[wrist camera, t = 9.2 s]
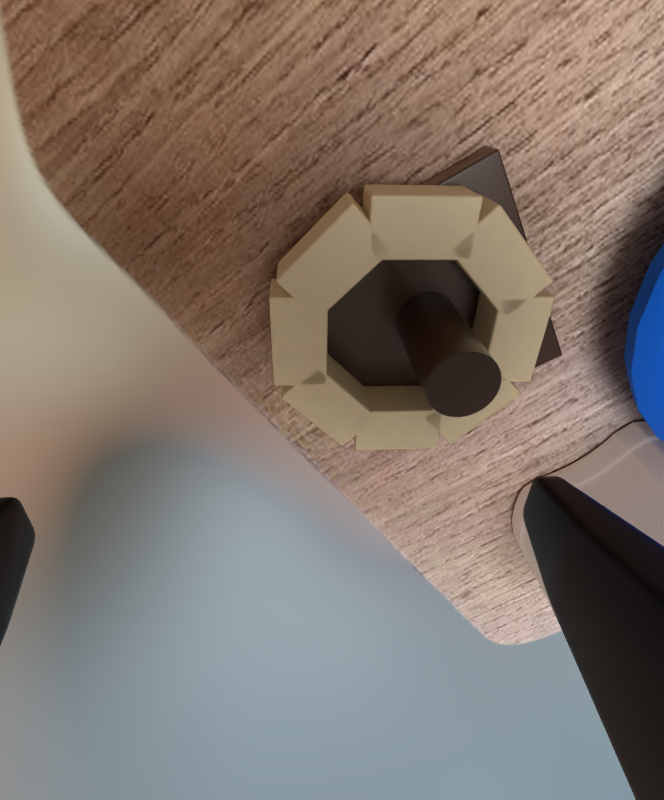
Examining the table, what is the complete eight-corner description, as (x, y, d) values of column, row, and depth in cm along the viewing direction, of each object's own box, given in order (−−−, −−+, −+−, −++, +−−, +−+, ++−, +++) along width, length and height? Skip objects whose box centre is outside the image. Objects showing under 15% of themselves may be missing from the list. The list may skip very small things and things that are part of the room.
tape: (219, 321, 18) (212, 345, 17) (422, 113, 15) (438, 116, 13) (384, 457, 23) (391, 486, 21) (570, 319, 19) (596, 341, 18)
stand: (271, 271, 19) (261, 341, 13) (486, 144, 17) (574, 169, 11) (371, 427, 23) (393, 524, 18) (550, 342, 21) (632, 424, 16)
